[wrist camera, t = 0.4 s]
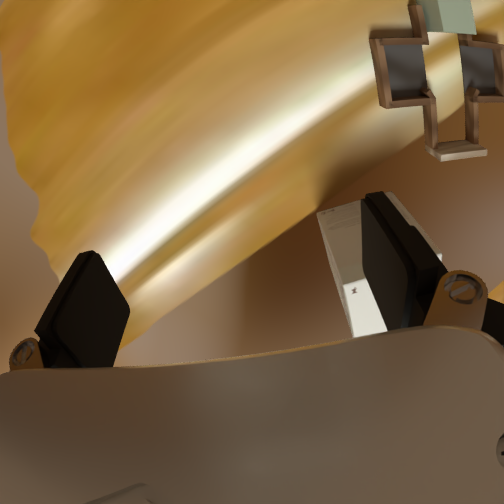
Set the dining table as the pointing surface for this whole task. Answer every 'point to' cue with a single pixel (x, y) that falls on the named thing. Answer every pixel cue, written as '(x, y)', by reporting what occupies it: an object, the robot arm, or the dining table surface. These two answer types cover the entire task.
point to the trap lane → (416, 93)
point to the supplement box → (356, 263)
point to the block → (448, 16)
